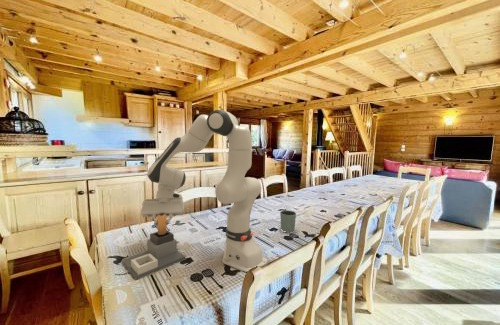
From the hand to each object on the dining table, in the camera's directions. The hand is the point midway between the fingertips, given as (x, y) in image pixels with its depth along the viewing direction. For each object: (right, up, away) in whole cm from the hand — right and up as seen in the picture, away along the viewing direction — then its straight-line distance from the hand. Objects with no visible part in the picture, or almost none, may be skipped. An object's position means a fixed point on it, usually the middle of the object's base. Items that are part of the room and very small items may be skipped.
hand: (161, 223), depth 103 cm
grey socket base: (-2, -16, -3) cm, 17 cm away
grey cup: (+67, -15, +37) cm, 78 cm away
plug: (0, -5, +1) cm, 5 cm away
